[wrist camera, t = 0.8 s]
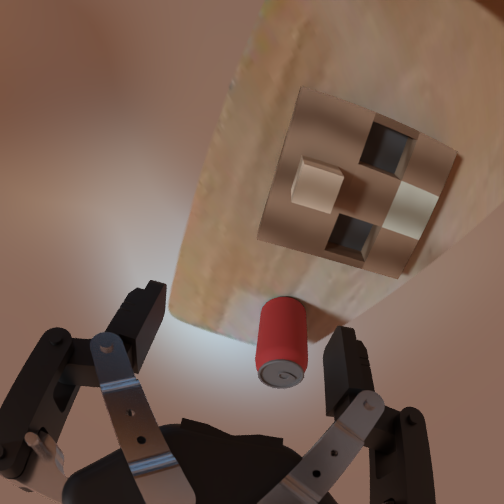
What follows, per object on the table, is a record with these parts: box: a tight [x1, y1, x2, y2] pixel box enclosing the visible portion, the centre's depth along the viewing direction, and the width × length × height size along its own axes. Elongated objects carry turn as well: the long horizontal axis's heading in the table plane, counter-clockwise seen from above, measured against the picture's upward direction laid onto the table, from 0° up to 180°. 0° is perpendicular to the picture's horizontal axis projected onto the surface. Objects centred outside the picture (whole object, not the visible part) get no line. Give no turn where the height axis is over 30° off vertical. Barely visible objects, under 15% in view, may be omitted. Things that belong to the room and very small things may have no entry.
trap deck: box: [257, 87, 458, 279], centre depth 34 cm, size 18×19×3 cm
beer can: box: [255, 297, 308, 388], centre depth 41 cm, size 7×7×12 cm
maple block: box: [291, 155, 344, 214], centre depth 31 cm, size 4×4×4 cm
